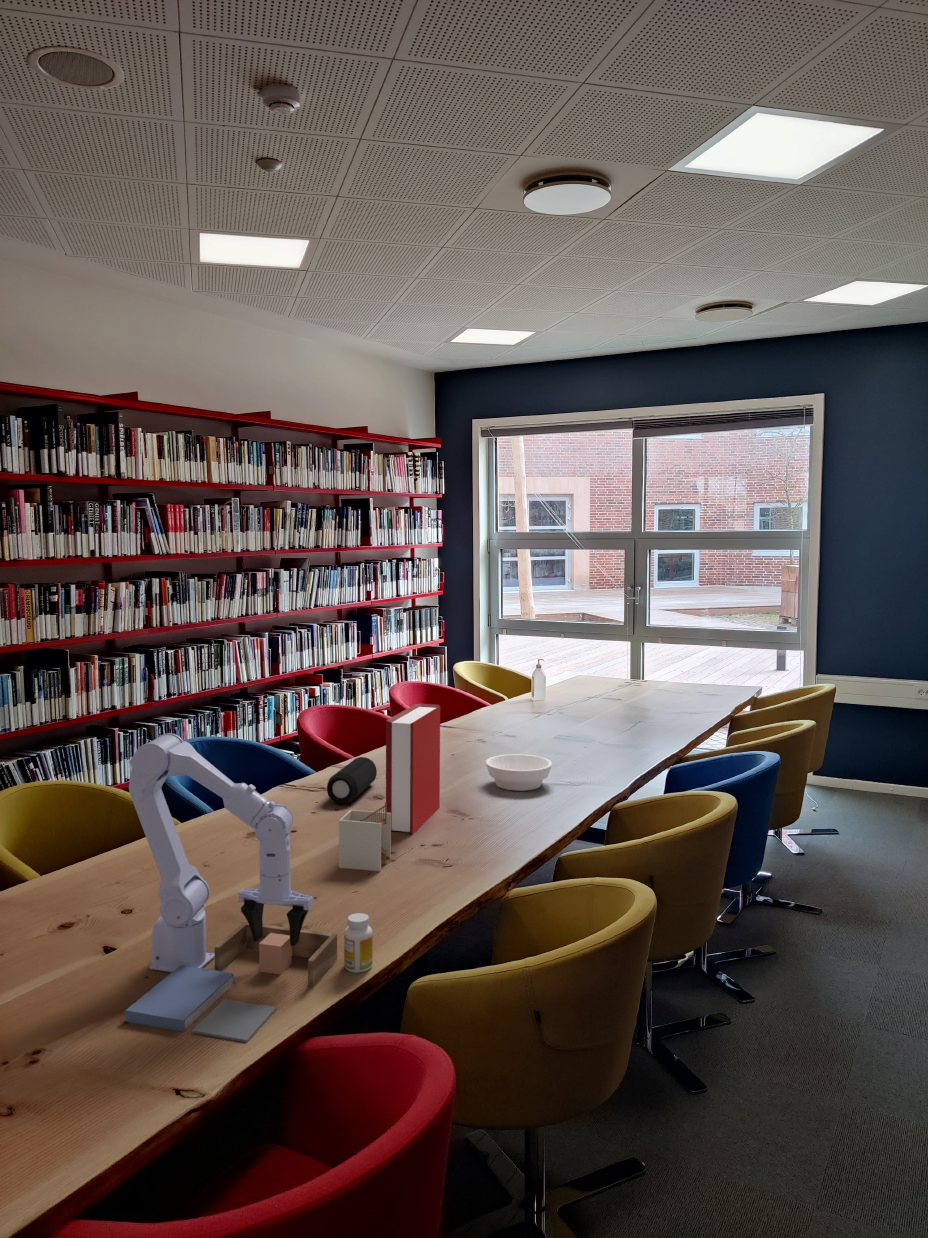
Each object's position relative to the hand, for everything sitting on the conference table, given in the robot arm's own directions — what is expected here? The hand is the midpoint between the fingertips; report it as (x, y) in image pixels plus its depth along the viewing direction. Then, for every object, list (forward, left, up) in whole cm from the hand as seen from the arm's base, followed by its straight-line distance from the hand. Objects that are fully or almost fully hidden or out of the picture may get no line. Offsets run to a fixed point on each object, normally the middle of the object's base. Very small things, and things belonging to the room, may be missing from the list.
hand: (276, 941), depth 159 cm
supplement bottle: (+15, +4, -5) cm, 16 cm away
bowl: (+21, +134, -5) cm, 136 cm away
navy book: (-10, -16, -6) cm, 19 cm away
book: (-2, +91, -5) cm, 92 cm away
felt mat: (+2, -19, -5) cm, 19 cm away
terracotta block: (0, 0, -5) cm, 5 cm away
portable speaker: (-29, +109, -6) cm, 113 cm away
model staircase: (-3, +54, -6) cm, 55 cm away
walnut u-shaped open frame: (0, 0, -5) cm, 5 cm away
